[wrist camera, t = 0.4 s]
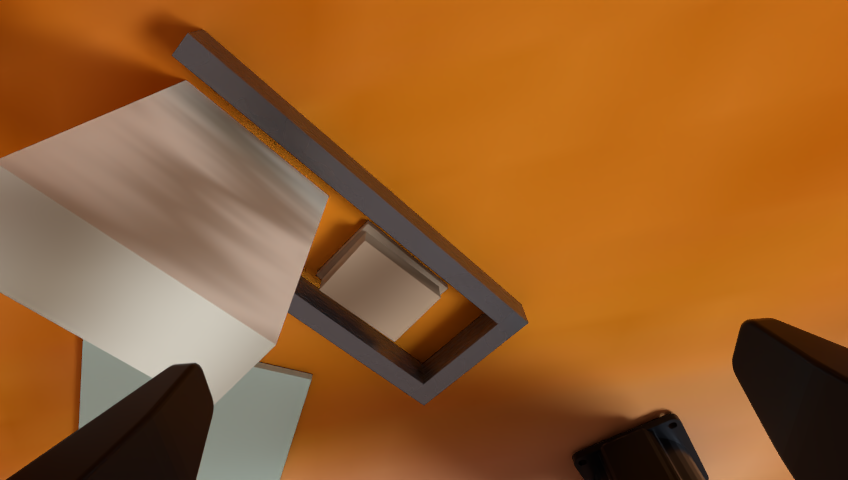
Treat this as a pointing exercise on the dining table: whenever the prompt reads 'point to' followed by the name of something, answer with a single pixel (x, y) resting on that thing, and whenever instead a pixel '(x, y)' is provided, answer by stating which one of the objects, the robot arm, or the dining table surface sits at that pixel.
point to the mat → (216, 414)
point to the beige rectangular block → (159, 235)
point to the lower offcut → (388, 243)
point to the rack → (385, 211)
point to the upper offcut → (380, 287)
